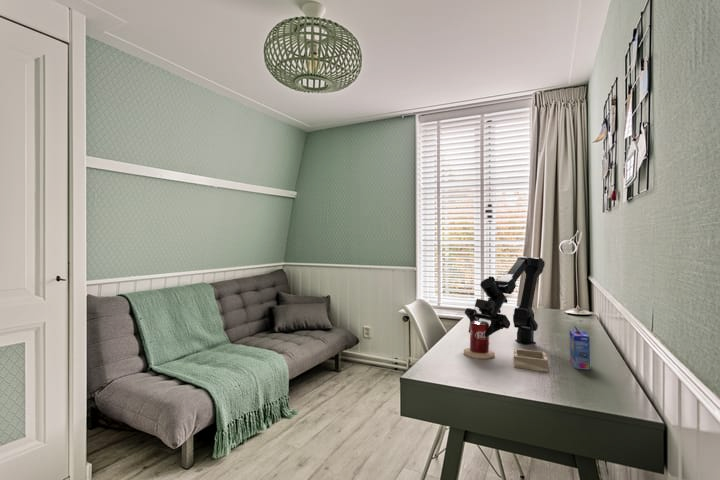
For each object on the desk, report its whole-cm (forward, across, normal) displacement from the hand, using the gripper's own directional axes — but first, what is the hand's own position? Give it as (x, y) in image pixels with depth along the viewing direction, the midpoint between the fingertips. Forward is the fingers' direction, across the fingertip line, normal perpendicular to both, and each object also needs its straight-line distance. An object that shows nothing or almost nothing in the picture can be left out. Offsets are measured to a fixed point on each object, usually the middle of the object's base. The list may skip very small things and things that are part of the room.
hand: (477, 334), depth 156 cm
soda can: (+4, 0, +6) cm, 8 cm away
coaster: (+5, 0, +7) cm, 8 cm away
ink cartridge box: (-9, +29, +22) cm, 38 cm away
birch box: (+1, +19, +10) cm, 21 cm away
